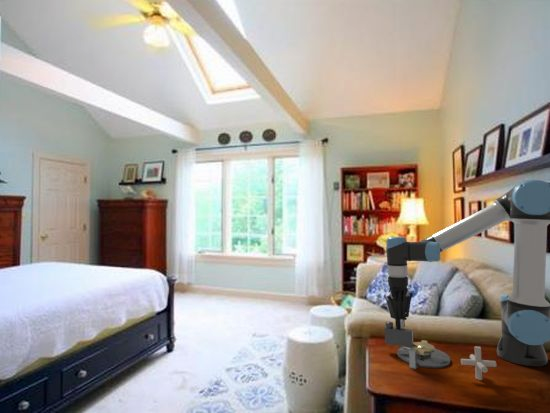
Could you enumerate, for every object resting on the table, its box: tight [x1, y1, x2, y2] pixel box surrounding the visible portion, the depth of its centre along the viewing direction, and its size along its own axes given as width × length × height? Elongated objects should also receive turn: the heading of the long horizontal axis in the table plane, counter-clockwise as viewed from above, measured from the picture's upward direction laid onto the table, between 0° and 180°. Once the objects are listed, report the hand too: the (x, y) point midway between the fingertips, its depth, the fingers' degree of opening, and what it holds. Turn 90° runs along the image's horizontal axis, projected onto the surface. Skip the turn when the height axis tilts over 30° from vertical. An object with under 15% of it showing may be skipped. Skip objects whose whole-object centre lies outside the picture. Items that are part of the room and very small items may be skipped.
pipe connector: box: [460, 345, 497, 381], centre depth 108 cm, size 10×10×10 cm
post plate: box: [397, 346, 451, 370], centre depth 125 cm, size 18×21×6 cm
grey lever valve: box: [384, 321, 436, 355], centre depth 128 cm, size 18×13×8 cm
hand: (400, 336), depth 132 cm, fingers closed
